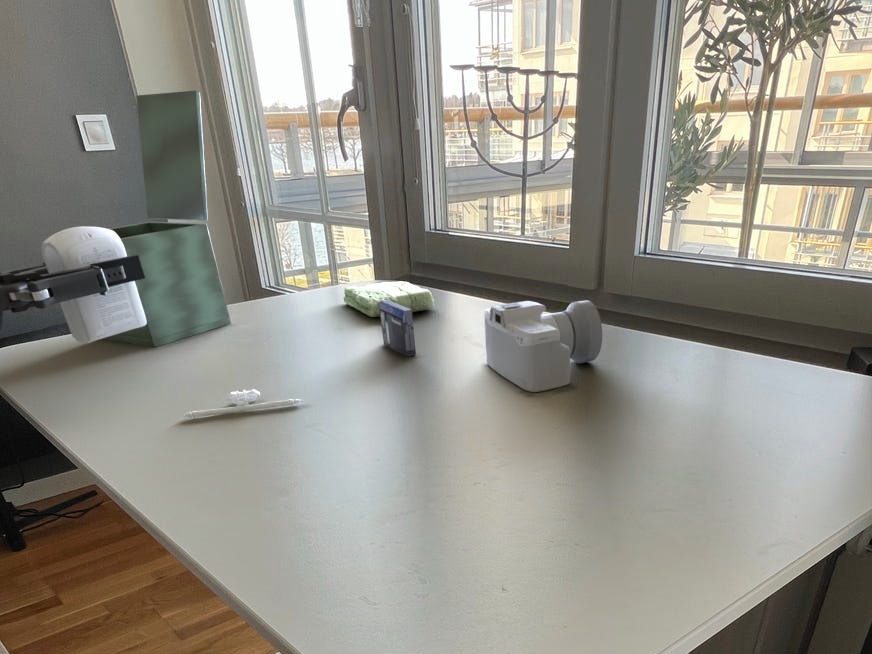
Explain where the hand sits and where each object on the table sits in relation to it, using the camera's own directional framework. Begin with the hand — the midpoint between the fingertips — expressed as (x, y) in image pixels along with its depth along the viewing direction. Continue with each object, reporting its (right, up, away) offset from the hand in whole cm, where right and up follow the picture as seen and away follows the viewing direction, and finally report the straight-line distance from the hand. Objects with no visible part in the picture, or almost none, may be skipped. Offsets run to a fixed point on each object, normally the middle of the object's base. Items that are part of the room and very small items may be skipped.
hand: (127, 265), depth 92 cm
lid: (-2, +27, +18) cm, 33 cm away
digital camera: (+56, -15, -1) cm, 58 cm away
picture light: (+18, -21, -6) cm, 28 cm away
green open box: (-7, +3, +26) cm, 27 cm away
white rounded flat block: (-2, -9, +1) cm, 9 cm away
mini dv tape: (+35, -7, +11) cm, 37 cm away
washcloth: (+30, +11, +34) cm, 46 cm away
